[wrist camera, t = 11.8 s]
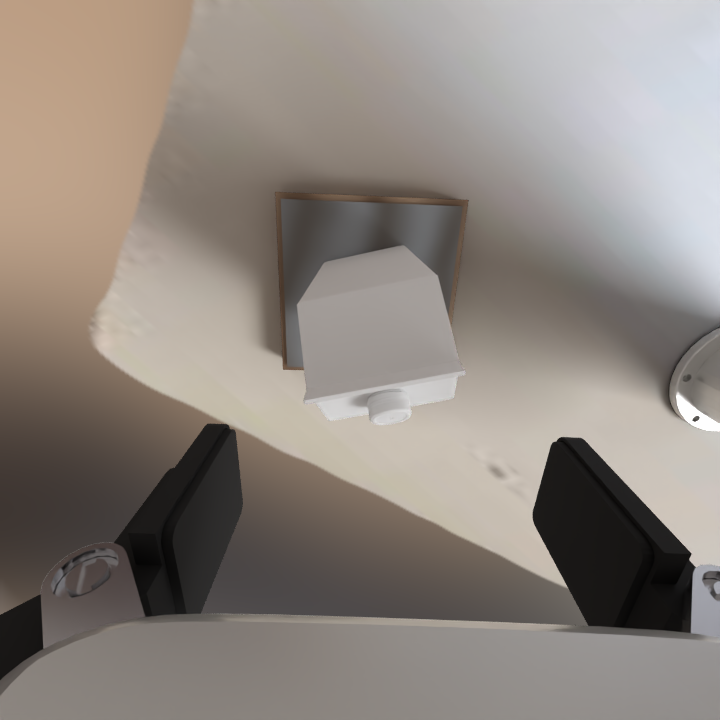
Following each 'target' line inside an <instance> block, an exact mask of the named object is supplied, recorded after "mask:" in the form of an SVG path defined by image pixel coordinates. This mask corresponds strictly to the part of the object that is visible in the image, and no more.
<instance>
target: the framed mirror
mask: <svg viewBox="0 0 720 720" xmlns="http://www.w3.org/2000/svg"><path fill="white" fill-rule="evenodd" d="M275 196H276V219H277V242H278V265H279V288H280V311H281V334H282V357H283V369H284V370H304V364H303V355H302V346H301V337H300V328H299V319H298V310H297V304H298V303H299V301H300V300H301V298H302V296H303V295H304V293H305V292H306V290H307V289H308V287H309V285H310V284H311V282H312V281H313V279H314V278H315V276H316V275H317V273H318V271H319V270H320V268H321V267H322V265H323V264H324V262H327V261H331V260H336V259H340V258H345V257H350V256H354V255H359V254H363V253H368V252H373V251H377V250H382V249H387V248H391V247H396V246H402V245H404V246H405V247H407V248H408V249H409V250H410V251H411V252H412V253H413V254H414V255H415V256H416V257H417V258H419V259H420V260H421V261H422V262H423V263H424V264H425V265H426V266H427V267H428V268H430V269H431V270H432V271H433V272H434V273H435V274H436V275H438V279H439V282H440V286H441V290H442V294H443V298H444V302H445V306H446V310H447V314H448V318H449V321H450V325H451V324H452V317H453V310H454V302H455V295H456V288H457V280H458V273H459V265H460V258H461V251H462V243H463V236H464V229H465V221H466V214H467V207H468V200H456V199H432V198H408V197H384V196H360V195H335V194H311V193H287V192H275Z"/></svg>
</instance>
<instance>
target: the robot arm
mask: <svg viewBox="0 0 720 720" xmlns="http://www.w3.org/2000/svg"><path fill="white" fill-rule="evenodd" d="M669 397H670V401H671V405H672V407H673V409H674V410H675V412H676V413H677V414H678V415H679V416H680V417H681V418H682V419H683V420H685V421H686V422H687V423H689V424H690V425H692V426H695V427H697V428H699V429H703V430H708V431H720V328H718V329H716V330H714V331H712V332H710V333H709V334H707V335H706V336H704V337H703V338H701V339H700V340H699V341H698V342H697V343H695V344H694V345H693V346H692V347H691V348H690V349H689V350H688V351H687V352H686V354H685V355H684V356H683V357H682V359H681V360H680V362H679V363H678V365H677V366H676V368H675V371H674V373H673V375H672V378H671V382H670V387H669ZM242 500H243V499H242V490H241V480H240V470H239V460H238V451H237V441H236V432H235V430H233V429H230V428H229V425H227V424H207V425H206V426H205V427H204V428H203V430H202V431H201V433H200V434H199V435H198V437H197V438H196V439H195V441H194V442H193V444H192V445H191V446H190V448H189V449H188V450H187V452H186V453H185V455H184V456H183V457H182V459H181V460H180V461H179V463H178V464H177V466H176V467H175V468H172V469H170V470H169V471H168V472H167V473H166V474H165V475H164V477H163V478H162V479H161V480H160V482H159V483H158V485H157V486H156V487H155V489H154V490H153V491H152V493H151V494H150V495H149V497H148V498H147V499H146V501H145V502H144V503H143V505H142V506H141V507H140V509H139V510H138V511H137V513H136V514H135V515H134V517H133V518H132V519H131V521H130V522H129V523H128V525H127V526H126V527H125V529H124V530H123V532H122V533H121V534H120V535H119V537H118V538H117V539H116V541H115V542H114V543H109V542H104V543H96V544H92V545H89V546H86V547H83V548H81V549H79V550H77V551H75V552H73V553H71V554H69V555H68V556H67V557H65V558H64V559H63V560H61V561H60V562H58V563H57V564H56V565H55V567H53V569H52V570H51V571H50V572H49V573H48V574H47V576H46V578H45V579H44V581H43V583H42V588H41V594H40V595H38V596H36V597H34V598H32V599H30V600H29V601H27V602H25V603H23V604H21V605H19V606H17V607H15V608H13V609H11V610H9V611H7V612H5V613H3V614H1V615H0V720H720V566H715V565H700V566H698V567H697V568H696V567H695V566H694V565H693V564H692V563H691V562H690V561H689V558H690V556H691V553H690V552H689V550H688V549H687V548H686V547H685V546H684V545H683V544H682V543H681V542H680V541H679V540H678V539H677V538H676V537H675V536H674V535H673V533H672V532H671V531H670V530H669V529H668V528H667V527H666V526H665V525H664V524H663V523H662V522H661V521H660V520H659V519H658V518H657V517H656V515H655V514H654V513H653V512H652V511H651V510H650V509H649V508H648V507H647V506H646V505H645V504H644V503H643V502H642V501H641V500H640V499H639V497H638V496H637V495H636V494H635V493H634V492H633V491H632V490H631V489H630V488H629V487H628V486H627V485H626V484H625V483H624V482H623V480H622V479H621V478H620V477H619V476H618V475H617V474H616V473H615V472H614V471H613V470H612V469H611V468H610V467H609V466H608V465H607V464H606V462H605V461H604V460H603V459H602V458H601V457H600V456H599V455H598V454H597V453H596V452H595V451H594V450H593V449H592V448H591V447H590V446H589V444H588V443H587V442H586V441H585V440H583V439H582V438H570V437H561V438H559V439H558V440H557V442H553V443H552V445H551V448H550V451H549V455H548V458H547V462H546V466H545V469H544V473H543V477H542V480H541V484H540V488H539V491H538V495H537V499H536V502H535V506H534V509H533V522H534V525H535V527H536V529H537V530H538V532H539V534H540V536H541V538H542V540H543V542H544V544H545V545H546V547H547V549H548V551H549V553H550V555H551V557H552V558H553V560H554V562H555V564H556V566H557V568H558V570H559V572H560V573H561V575H562V577H563V579H564V581H565V583H566V585H567V587H568V588H569V590H570V592H571V594H572V596H573V598H574V600H575V601H576V603H577V605H578V607H579V609H580V611H581V613H582V615H583V616H584V618H585V620H586V622H587V624H588V626H576V625H575V626H574V625H552V624H530V623H506V622H481V621H480V622H479V621H453V620H427V619H426V620H425V619H398V618H370V617H338V616H337V617H336V616H304V615H272V614H201V611H202V609H203V606H204V604H205V601H206V599H207V596H208V594H209V592H210V589H211V587H212V584H213V582H214V579H215V577H216V574H217V571H218V569H219V567H220V564H221V562H222V559H223V557H224V554H225V552H226V549H227V547H228V544H229V542H230V539H231V536H232V534H233V532H234V529H235V527H236V525H237V522H238V520H239V517H240V514H241V511H242V505H243V501H242Z"/></svg>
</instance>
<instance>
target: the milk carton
mask: <svg viewBox="0 0 720 720" xmlns="http://www.w3.org/2000/svg"><path fill="white" fill-rule="evenodd" d="M297 310H298V319H299V328H300V337H301V346H302V355H303V364H304V373H305V381H306V394H305V397H304V404H312V403H315V404H316V405H317V406H318V407H319V409H320V410H321V411H322V413H323V414H324V415H325V416H326V418H327V419H328V420H329V421H332V420H339V419H345V418H350V417H356V416H361V415H367V414H369V419H370V421H371V422H372V423H373V424H376V425H390V424H395V423H399V422H402V421H405V420H407V419H408V418H409V417H410V416H411V414H412V412H411V406H417V405H422V404H428V403H433V402H439V401H444V400H449V399H453V398H454V394H455V389H456V384H457V378H458V376H463V375H465V374H466V371H465V369H464V367H463V366H462V364H461V363H460V361H459V357H458V353H457V349H456V345H455V341H454V337H453V333H452V329H451V325H450V321H449V318H448V314H447V310H446V306H445V302H444V298H443V294H442V290H441V286H440V282H439V279H438V275H436V274H435V273H434V272H433V271H432V270H431V269H430V268H428V267H427V266H426V265H425V264H424V263H423V262H422V261H421V260H420V259H419V258H417V257H416V256H415V255H414V254H413V253H412V252H411V251H410V250H409V249H408V248H407V247H405V246H404V245H402V246H396V247H391V248H387V249H382V250H377V251H373V252H368V253H363V254H359V255H354V256H350V257H345V258H340V259H336V260H331V261H327V262H324V264H323V265H322V267H321V268H320V270H319V271H318V273H317V275H316V276H315V278H314V279H313V281H312V282H311V284H310V285H309V287H308V289H307V290H306V292H305V293H304V295H303V296H302V298H301V300H300V301H299V303H298V304H297Z"/></svg>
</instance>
